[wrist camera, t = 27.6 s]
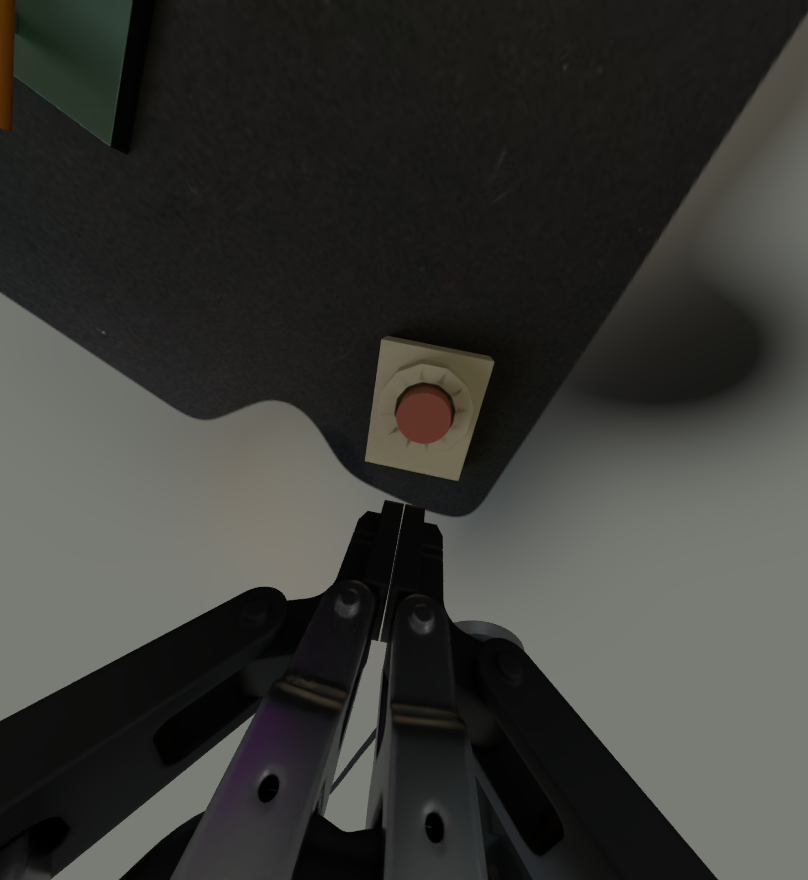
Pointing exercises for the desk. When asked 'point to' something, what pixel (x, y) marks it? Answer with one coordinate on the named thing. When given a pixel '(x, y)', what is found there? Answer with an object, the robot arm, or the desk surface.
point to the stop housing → (437, 368)
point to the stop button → (424, 415)
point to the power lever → (6, 61)
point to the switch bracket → (85, 59)
